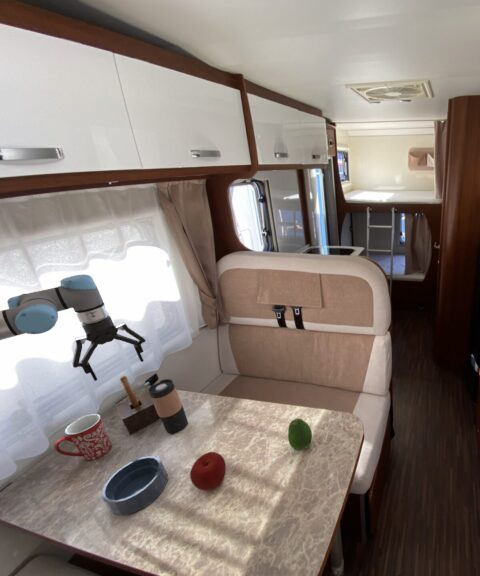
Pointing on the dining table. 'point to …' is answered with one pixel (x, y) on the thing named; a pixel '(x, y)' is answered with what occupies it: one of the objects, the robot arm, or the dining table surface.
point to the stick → (129, 391)
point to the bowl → (135, 485)
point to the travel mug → (168, 406)
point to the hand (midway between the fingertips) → (119, 369)
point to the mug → (86, 438)
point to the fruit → (299, 434)
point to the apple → (208, 471)
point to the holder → (138, 414)
